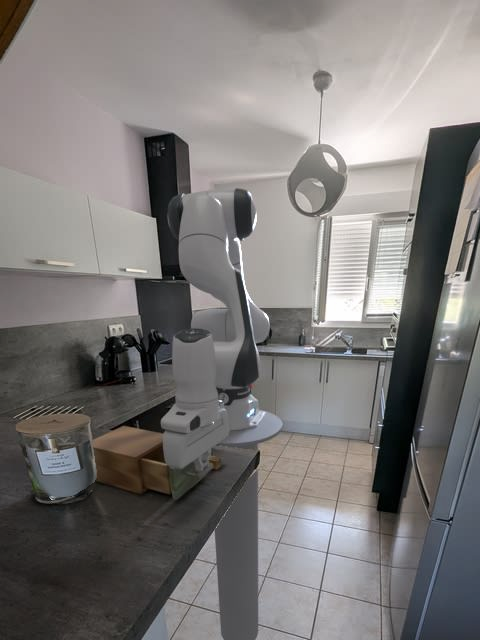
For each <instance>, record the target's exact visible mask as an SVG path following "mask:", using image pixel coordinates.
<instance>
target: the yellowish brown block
mask: <svg viewBox="0 0 480 640" xmlns="http://www.w3.org/2000/svg"><path fill="white" fill-rule="evenodd" d="M209 463H212V464H213V466H214V467H213V469H212V470H216V471H217V470H219V469H220V468H221V467H222V457H220V456H216V455H211V454H210V458H209Z"/></svg>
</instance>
